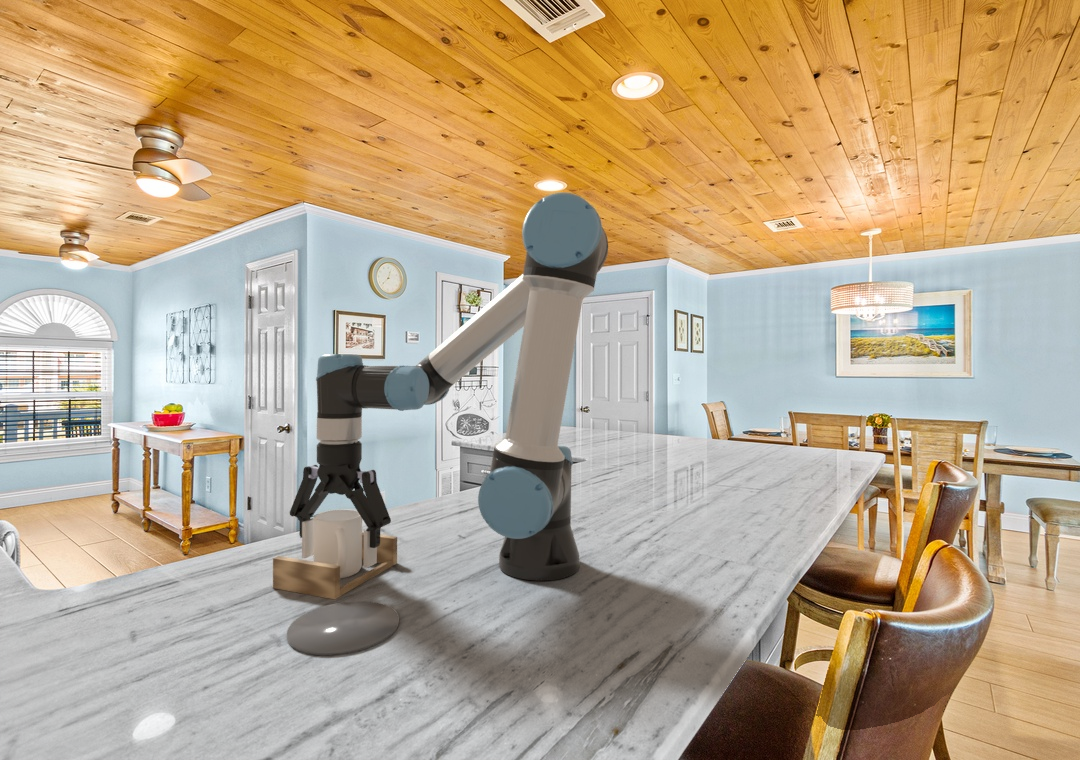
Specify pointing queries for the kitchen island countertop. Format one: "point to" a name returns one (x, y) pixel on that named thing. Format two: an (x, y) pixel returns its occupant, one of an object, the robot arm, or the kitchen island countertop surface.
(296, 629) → the coaster
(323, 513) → the mug
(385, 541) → the caddy
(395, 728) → the kitchen island countertop surface
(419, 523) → the kitchen island countertop surface
